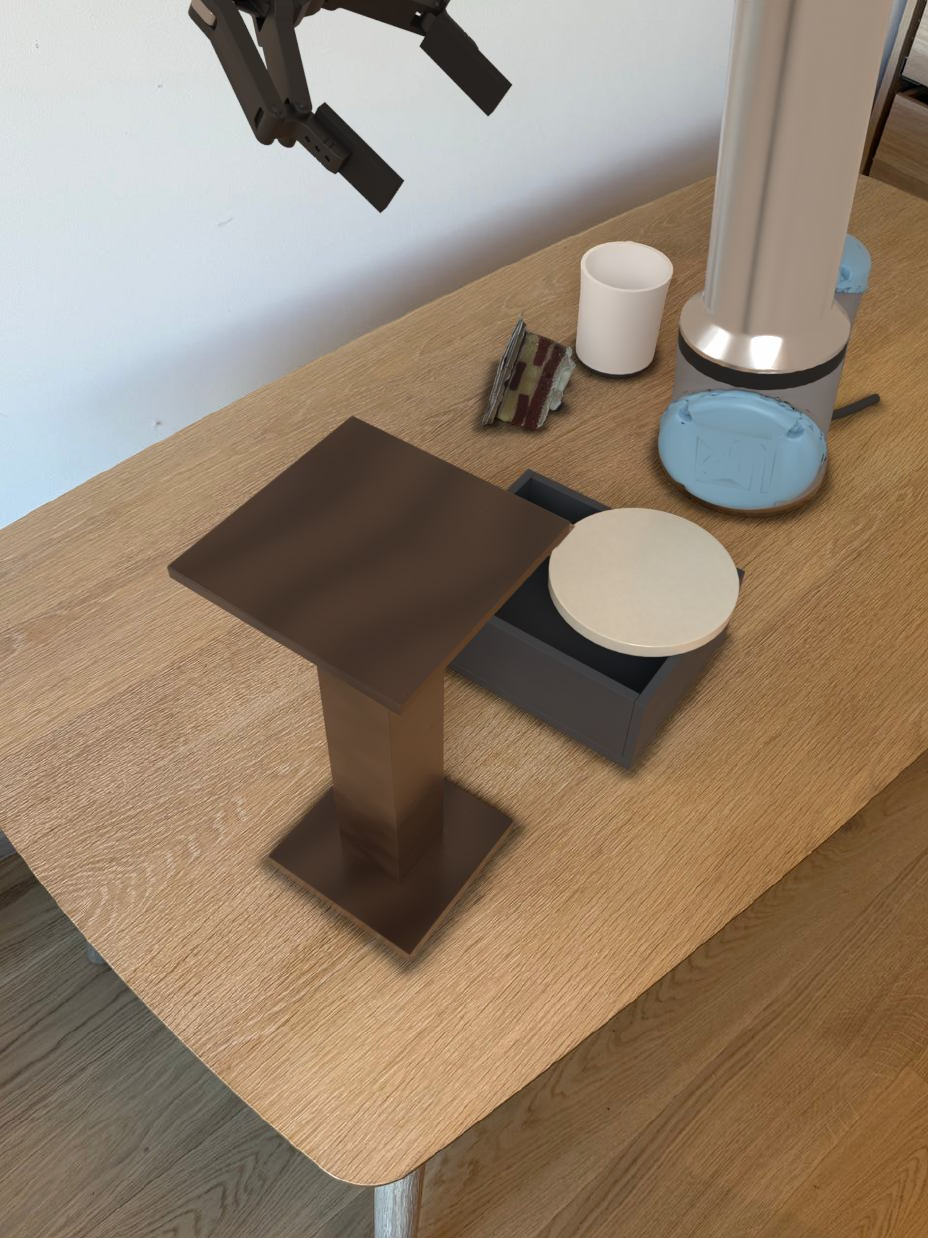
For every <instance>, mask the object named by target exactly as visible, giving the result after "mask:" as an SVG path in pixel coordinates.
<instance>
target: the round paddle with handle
mask: <svg viewBox="0 0 928 1238" xmlns="http://www.w3.org/2000/svg"><path fill="white" fill-rule="evenodd" d="M548 556H550V561H549V571H548V587H549V591H550V595H551V598H552V600H553V603H554V605H555V607H556V608H557V610H558V612H559V613H560V615H561V616H562V617H563V618H564V619H565V621H566V622H567V623H568V624H569V625H570V626H571V627H572V628H573V629H575V630H576V631H577V632H578V633H580V634H581V635H583V636H584V637H585V638H587V639H589V640H591V641H592V642H594V643H596V644H598V645H600V646H603V647H605V648H607V649H610V650H613V651H616V652H620V653H624V654H629V655H634V656H643V657H663V656H672V655H677V654H682V653H685V652H688V651H691V650H694V649H696V648H698V647H701V646H703V645H705V644H706V643H708V642H709V641H711V640H712V639H714V638H715V637H716V636H717V635H718V634H719V633H720V632H722V630H723V629H724V628H725V627H726V625H727V624H728V623H729V621H730V622H731V619H732V617H733V615H734V612H735V609H736V606H737V603H738V599H739V594H740V590H739V577H738V573H737V569H736V564H735V562H734V560H733V558H732V556H731V554H730V553H729V552H728V550H727V549H726V548H725V546H724V545H723V544H722V543H721V542H720V540H718V539H717V538H716V537H715V536H714V535H713V534H711V533H710V532H709V531H707V530H706V529H705V528H703V527H702V526H700V525H699V524H697V523H695V522H694V521H691V520H689V519H687V518H685V517H682V516H679V515H677V514H674V513H671V512H667V511H664V510H659V509H653V508H645V507H621V508H613V509H612V510H607V511H603V512H599V513H596V514H593V515H591V516H588V517H586V518H584V519H582V520H581V521H579V522H577V523H576V524H574V525H573V524H571V523H570V531H569V533H568V535H567V536H566V537H565V538H564V539H563V540H562V541H561V542H560V543H559V544H558V545H557V547H556V548H555V549H554V550H553V551H552V552H551V553H550V554H549V555H548ZM729 624H730V623H729Z"/></svg>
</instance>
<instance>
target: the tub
mask: <svg viewBox="0 0 928 1238" xmlns="http://www.w3.org/2000/svg"><path fill="white" fill-rule="evenodd" d="M505 490H506V491H508V492H510V493H512V494H514V495H516V496H518V497H521V498H523V499H525V500H527V501H529V502H531V503H533V504H535V505H537V506H539V507H541V508H543V509H545V510H547V511H549V512H551V513H553V514H555V515H557V516H560V517H562V518H564V519H566V520H568V521H570V523H571V524H573V525H574V524H576V523H577V522H579V521H581V520H582V519H584V518H586V517H588V516H591V515H593V514H596V513H599V512H603V511H607V510H612V509H614V508H613V507H610V506H608V505H607V504H604V503H603V502H600V501H598V500H596V499H594V498H591V497H589V496H588V495H585V494H583V493H581V492H579V491H577V490H575V489H573V488H571V487H568V486H566V485H564V484H562V483H560V482H558V481H556V480H553V479H552V478H549V477H548V476H545V475H543V474H541V473H539V472H536V471H534V470H533V469H531V468H527V469H526V470H525V471H524V472H523V473H522V474H520V476H519V477H518V478H517V479H516V480H515V481H514V482H512V484H511V485H510V486H509V487H508V488H506V489H505ZM549 561H550V556H547V557H546V559H545V560H544V561H543V562H542V563H541V564H540V565H539V566H538V567H537V568H536V569H535V571H534V572H533V573H532V574H531V575H530V576H529V577H528V578H527V579H526V580H525V581H524V583H523V584H522V585H521V586H520V587H519V588H518V589H517V590H516V591H515V592H514V593H513V595H512V596H511V597H510V598H509V599H508V600H507V601H506V602H505V603H504V604H503V605H502V606H501V608H500V609H499V610H498V611H497V612H496V613H495V614H494V615H493V616H492V617H491V618H490V620H489V621H488V622H487V623H486V624H485V625H484V626H483V627H482V628H481V629H480V630H479V632H478V633H477V634H476V635H475V636H474V637H473V638H472V639H471V640H470V641H469V642H468V644H467V645H466V646H465V647H464V648H463V649H462V650H461V651H460V652H459V653H458V654H457V656H456V657H455V658H454V659H453V660H452V661H451V662H450V663H449V664H448V665H447V666H446V668H449V669H450V670H452V671H454V672H456V673H457V674H459V675H461V676H463V677H464V678H465V679H468V680H469V681H472V682H473V683H475V684H477V685H479V686H480V687H482V688H483V689H485V690H487V691H489V692H491V693H493V694H494V695H496V696H498V697H500V698H501V699H503V700H505V701H506V702H508V703H510V704H512V705H514V706H516V707H517V708H519V709H520V710H522V711H523V712H525V713H527V714H528V715H531V716H532V717H534V718H536V719H537V720H540V721H542V722H543V723H545V724H546V725H549V726H550V727H552V728H554V729H555V730H557V731H559V732H561V733H562V734H563V735H566V736H568V737H569V738H571V739H572V740H574V741H577V742H578V743H580V744H582V745H584V746H585V747H587V748H588V749H590V750H592V751H594V752H595V753H597V754H599V755H601V756H602V757H604V758H606V759H608V760H610V761H611V762H613V763H615V764H617V765H618V766H620V767H622V768H623V769H625V770H627V771H631V770H632V768H633V766H635V764H636V762H637V761H638V759H640V758H641V756H642V754H643V753H644V751H645V750H646V749H647V747H648V746H649V744H650V743H651V742H652V740H653V739H654V737H655V736H656V735H657V733H658V732H659V731H660V730H661V728H662V726H663V725H664V723H665V722H666V721H667V719H669V716H670V715H671V714H672V712H673V711H674V710H675V708H676V707H677V705H678V704H679V703H680V701H681V700H682V699H683V697H684V696H685V695H686V693H687V692H688V691H689V689H690V687H691V686H692V684H693V683H694V682H695V681H696V679H697V678H698V676H699V675H700V674H701V672H702V671H703V669H704V668H705V666H707V664H708V663H709V661H710V660H711V658H712V657H713V656H714V655H715V653H716V651H717V650H718V649H719V647H720V646H721V644H722V643H723V642H724V640H725V638H726V635H727V632H728V629H729V625H730V623H731V620H730V621H729V623H728V624H727V625H726V627H725V628H724V629H723V630H722V632H720V633H719V634H718V635H717V636H716V637H715V638H714V639H712V640H711V641H709V642H708V643H706V644H705V645H703V646H701V647H698V648H696V649H694V650H691V651H688V652H685V653H682V654H677V655H672V656H663V657H643V656H634V655H629V654H624V653H620V652H616V651H613V650H610V649H607V648H605V647H603V646H600V645H598V644H596V643H594V642H592V641H591V640H589V639H587V638H585V637H584V636H583V635H581V634H580V633H578V632H577V631H576V630H575V629H573V628H572V627H571V626H570V625H569V624H568V623H567V622H566V621H565V619H564V618H563V617H562V616H561V615H560V613H559V612H558V610H557V608H556V607H555V605H554V603H553V600H552V598H551V595H550V591H549V587H548V571H549ZM735 567H736V566H735ZM736 569H737V573H738V577H739V591H740V590H741V587H742V584H743V581H744V577H745V575H746V570H743V569H741V568H739V567H736Z"/></svg>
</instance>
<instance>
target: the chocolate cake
mask: <svg viewBox="0 0 928 1238" xmlns="http://www.w3.org/2000/svg"><path fill="white" fill-rule="evenodd" d="M523 316H524V309H523V310H522V313H521V316H520V318H519V319H518V321H517V323H516V324H515V328H514V329H513V330H512V332H511V333H510V334H511V335H510V338H509V340H508V342H507V344H506V346H505V349H504V351H503V353H502V355H501V358H500V362H499V365H498V367H497V368H498V369H497V371H496V376H495V377H494V382H493V387H492V389H491V391H490V394H489V395H490V397H489V398H488V400H489V401H488V404H487V407H486V409H485V413H484V415H483V418H482V421H481V424H482V425H481V427H483V426H485V425H493V423H494V420H495V418H498V419H499V420H501V421H503V422H510V423H511V424H513V425H516V426H520V427H526V428H527V429H529V430H532V431H533V430H534V431H535V430H538V429H539V428H540V427H542V426H543V425H544V422H545V421H546V419H547V416H548V415H549V414H548V413H549V411H550V410H551V411H557V410H558V411H561V410H562V409H563V408H564V407H565V406H564V403H563V402H562V398H563V396H564V391H565V388H566V387H567V386H568V383H569V381H570V378H571V376H572V374H573V371H574V369H575V368H576V363H575V362H574V361H573V359H571V357H572V354H573V349H572V348H571V347H570V346H569V345H565V344H563V343H560V342H558V341H556V340H554V339H552V338H549V337H547V336H544V335H542V334H538V333H535V332H533V331H530V330H528V329H527V326H528V325H527V324H526V323H525V322H524V321H523Z"/></svg>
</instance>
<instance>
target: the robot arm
mask: <svg viewBox="0 0 928 1238" xmlns="http://www.w3.org/2000/svg"><path fill="white" fill-rule="evenodd" d="M450 2H451V0H191V1H190V3H189V7H188V10H187V14H188V16H189V18H190V20H191V21H192V22H193V23H194V24H195V25H196V26H197V28H199V30H200V31H201V32H202V33H203V35H204V36H205V37H206V38H207V39H208V40H209V42H210V44H211V46H212V49H213V51H214V52H215V54H216V57H217V59H218V61H219V64H220V66H221V67H222V69H223V72H224V74H225V76H226V78H227V80H228V83H229V85H230V86H231V89H232V91H233V93H234V95H235V97H236V99H237V101H238V103H239V106H240V108H241V110H242V112H243V114H244V117H245V118H246V120H247V123H248V125H249V127H250V129H251V131H252V133H253V135H254V137H255V139H256V141H257V142H259V143H260V144H261V145H263V146H271V145H273V144H274V142H275V141H276V140H277V142H278V143H279V144H280V145H281V146H282V147H284V148H287V149H292V148H294V147H295V145H296V143H297V142H298V143H299V144H300V145H301V146H302V147H303V148H304V149H305V150H306V151H307V152H308V153H309V154H310V155H312V157H313V158H314V159H315V160H316V161H317V162H318V163H320V165H322V166H323V168H325V169H326V171H328V172H330V173H332V174H333V175H337V174H338V173H339V174H340V176H341V177H342V178H344V179H345V180H346V181H347V182H348V183H349V185H351V186H352V188H354V189H355V190H356V191H357V192H358V193H359V195H360V196H362V197H363V198H364V199H365V200H366V201H367V202H368V203H369V204H370V205H371V206H372V207H373V208H374V209H375V210H376V211H377V212H378V213H379V214H381V213H382V212H384V211H385V210H386V209H387V208H388V207H389V205H390V204H391V202H392V200H393V199H394V198H395V196H396V194H397V193H398V191H399V190H400V189H401V187H402V185H403V184H404V182H405V179H404V178H402V177H401V175H400V174H398V173H397V171H396V170H395V169H393V168H392V167H391V166H390V164H389V163H387V162H386V161H385V159H383V158H382V157H381V155H379V154H378V153H377V152H376V151H375V150H374V149H373V148H372V147H371V145H369V144H368V143H367V142H366V141H365V140H364V139H363V138H362V136H361V135H360V134H358V132H356V131H355V130H354V129H353V128H352V127H351V126H350V125H349V124H348V123H347V122H346V121H345V120H344V119H343V118H342V117H341V116H340V115H339V114H338V113H337V112H336V111H335V109H333V108H332V107H331V106H330V105H329V104H328V103H327V102H326V101H324V102H322V103H321V104H320V105H319V106H317V108H316V110H315V112H313V102H312V98H311V94H310V90H309V85H308V80H307V76H306V73H305V72H306V71H305V67H304V64H303V59H302V55H301V51H300V46H299V42H298V38H297V34H296V29H295V28H297V27H298V26H300V24H301V23H302V21H303V20H304V18H309V17H311V16H314V15H316V14H318V13H319V12H320V11H321V9H322V10H326V11H330V12H334V11H337V10H339V9H342V10H345V11H348V12H351V13H354V14H357V15H359V16H363V17H365V18H368V19H372V20H374V21H377V22H380V23H383V24H386V25H389V26H391V27H395V28H398V29H401V30H403V31H407V32H410V33H412V34H414V35H418V36H421V37H423V39H422V41H421V42H420V44H419V48H420V49H421V50H422V51H423V52H424V53H425V54H426V55H427V56H428V57H429V58H430V60H432V61H433V62H434V63H435V64H436V65H437V66H438V67H439V68H440V70H441V71H442V72H444V73H445V75H447V77H448V78H450V80H451V81H452V82H454V84H455V85H456V86H457V87H458V88H459V89H460V90H461V91H462V92H463V93H464V94H465V95H466V96H467V97H468V99H470V101H472V102H473V103H474V104H475V105H476V107H477V108H479V109H480V110H481V111H482V112H483V114H485V115H486V117H490V116H491V115H492V114H493V113H494V112H495V110H496V109H497V107H498V106H499V105H500V103H501V102H502V101H503V100H504V98H505V96H506V95H507V93H508V92H509V91H510V89H511V87H513V84H512V83H511V81H510V80H509V79H508V78H507V77H506V76H505V75H504V74H503V73H502V72H501V71H500V69H498V68H497V67H496V66H495V64H493V63H492V62H491V61H490V60H489V58H488V57H486V55H485V54H484V53H483V52H482V51H481V50H480V48H479V46H478V45H477V43H476V41H475V40H474V39H473V38H472V37H471V36H470V35H469V34H468V33H467V32H466V31H465V30H464V29H463V27H462V26H460V25H459V24H458V23H457V22H456V20H455V19H454V18H453V17H451V15H450V14H449V12H448V10H447V7H448V6H449V4H450ZM893 5H894V0H734V1H733V8H732V10H733V11H732V18H731V29H730V37H729V46H728V47H729V48H728V56H727V57H728V58H727V65H726V77H725V86H724V95H723V105H722V114H721V115H722V116H721V125H720V133H719V134H720V135H719V144H718V156H717V163H716V164H717V165H716V174H715V184H714V194H713V203H712V212H711V214H712V215H711V222H710V224H711V225H710V232H709V242H708V250H707V251H708V252H707V262H706V271H705V281H704V287H703V288H701V289H700V290H699V291H697V292H696V293H694V294H693V295H692V296H691V297H690V298H688V300H687V301H686V302H685V303H684V305H683V307H682V308H681V312H680V317H679V321H678V333H677V334H678V335H677V344H676V353H675V354H676V355H675V366H674V377H673V385H672V390H671V396H670V400H669V404H668V405H667V407H666V408H665V409H664V412H663V413H662V415H661V417H660V419H659V426H658V428H659V429H658V430H659V433H658V437H657V438H658V439H657V448H658V459H659V463H660V467H661V469H662V471H663V473H664V474H665V476H666V478H667V479H668V480H669V482H670V483H671V484H672V485H673V486H674V487H675V488H676V489H677V491H679V492H680V493H682V494H683V495H684V496H686V497H687V498H689V499H690V500H692V501H694V502H695V503H697V504H699V505H701V506H704V507H706V508H708V509H711V510H714V511H717V512H721V513H723V514H728V515H731V516H732V515H733V516H740V517H748V518H749V517H753V518H757V517H758V518H760V517H761V518H763V517H771V516H778V515H783V514H785V513H789V512H791V511H794V510H796V509H799V508H800V507H802V506H803V505H805V504H807V503H808V502H809V501H810V500H811V499H813V497H814V496H815V495H816V494H817V493H818V491H819V490H820V488H821V486H822V483H823V480H824V477H825V475H826V472H827V468H828V460H829V450H828V444H827V440H828V435H829V432H830V431H829V430H830V426H831V423H832V421H835V420H839V419H843V418H845V417H848V416H851V415H853V414H855V413H858V412H860V411H862V410H864V409H867V408H869V407H872V406H873V405H875V404H878V403H879V402H880V401H881V397H880V394H878V393H873V394H871V395H868V396H866V397H864V398H862V399H860V400H857V401H855V402H853V403H850V404H848V405H846V406H843V407H840V408H837V409H835V405H836V400H837V396H838V392H839V387H840V382H841V379H842V375H843V369H844V364H845V361H846V356H847V353H848V349H849V348H848V347H849V343H850V339H851V335H852V332H853V328H854V324H855V321H856V318H857V314H858V312H859V308H860V305H861V302H862V300H863V295H864V293H865V292H867V291H868V289H869V286H870V284H869V283H870V282H869V278H870V273H871V269H872V256H871V254H870V252H869V250H868V249H867V247H866V246H865V244H863V243H862V242H861V241H860V240H859V239H857V238H856V237H855V236H854V235H852V234H850V233H848V228H849V224H850V218H851V215H852V209H853V203H854V198H855V194H856V190H857V183H858V179H859V175H860V169H861V164H862V163H861V162H862V159H863V153H864V148H865V144H866V139H867V133H868V128H869V124H870V118H871V114H872V109H873V104H874V99H875V94H876V90H877V84H878V81H879V75H880V70H881V64H882V60H883V55H884V50H885V44H886V40H887V34H888V31H889V25H890V20H891V15H892V11H893ZM241 12H243V13H245V14H247V15H249V16H250V17H251V20H252V24H253V25H252V26H253V29H254V33H255V38H256V43H257V45H256V43H255V41H254V39H253V37H252V35H251V32H250V30H249V28H248V26H247V25H246V22H245V20H244V18H243V15H242V14H241ZM417 13H418V14H419V15H418V14H417ZM257 46H258V47H259V48H262V52H263V57H264V60H263V58H262V55H261V53H260V52H259V49H258V48H257ZM264 61H265V63H264Z"/></svg>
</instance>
